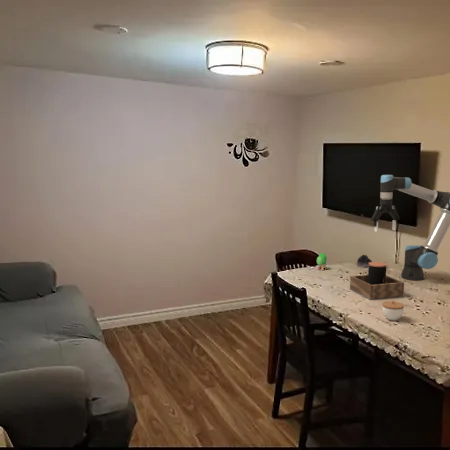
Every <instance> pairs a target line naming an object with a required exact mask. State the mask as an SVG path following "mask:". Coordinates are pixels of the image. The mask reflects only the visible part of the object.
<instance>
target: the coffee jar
mask: <svg viewBox="0 0 450 450" xmlns="http://www.w3.org/2000/svg"><path fill="white" fill-rule="evenodd" d="M367 268H368V269H367V275H368V283H369V284H371V285H376V284H386V276H387V263H385V262H382V261H381V262H380V261H372V262H370V263H369V267H367Z"/></svg>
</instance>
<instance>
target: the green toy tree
mask: <svg viewBox="0 0 450 450" xmlns="http://www.w3.org/2000/svg"><path fill="white" fill-rule="evenodd" d="M327 259H328V258H327V255H326V253H323V252H321V253H319V255H318V256H317V258H316V264H317V265H316V267H317V270H318V269H319V270H318V271H321V270H324V268H325V269H327V268H326V267H327V263H326V262H327ZM318 267H319V268H318ZM320 269H321V270H320Z"/></svg>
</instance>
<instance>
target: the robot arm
mask: <svg viewBox="0 0 450 450" xmlns="http://www.w3.org/2000/svg"><path fill="white" fill-rule="evenodd" d="M394 190H397V191H399V192H402V193H405V194H408V195H410V196H412V197H417V198H419V199H422V200H424V201H427V202H428V203H429V204H431V205H434V206H437V207H438V208H439V210H440V213H439V215H438V217H437V219H436V221H435V223H434V225H433V227H432V229H431V231H430V233H429V234H428V237H427V239H426V240H425V242H424V244H421V245H418V244H417V245H416V244H415V245H413V244H412V245H406V246H405V249H404V263H403V264H404V266H403V268H402V271H401V273H400V277H401V279H404V280H409V281H423V280H425V273H424V270H430V269H433V268H435V267H436V266H437V264H438V262H439V258H438V254H439V250H438V249H439V247H440V245H441V243H442V241H443V239H444V237H445V235H446V233H447V231H448V229H449V228H450V192H449V191H440V190H437V189H429V188H426V187H423V186H420V185H417V184H415V183H413V182H412V179H411V178H410V177H406V176H405V177H400V176H399V177H397V176H394V175H393V174H382V175H381V176H380V192H379V193H380V194H379V195H380V196H379V198H380V199H379V205H380V206H375V210H374V213H373V214H372V216H371V219H370V220H371V221H372V222H373V227H374V232H377V233H378V232H379V220H380V218H381V217H382V215H383V214H389V216H391V218H392V219H393V220H392V223H391V224H392V225H391V229H392V231H396V230H397V223H398V221H399V220H400V219H401V218H400V216H399V213H398V211H397V206H396V205H393V191H394ZM423 269H424V270H423Z"/></svg>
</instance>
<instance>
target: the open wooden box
mask: <svg viewBox="0 0 450 450" xmlns="http://www.w3.org/2000/svg"><path fill="white" fill-rule="evenodd" d="M349 290H350V291H352V292H354V293H355V294H358V295H360V296H361V297H364V298H365V299H367V300H369V301H375V300H382V299H383V300H385V299H394V298H403V297H404V293H405V282H403V281H401V280H398V279H397V278H396V279H395V278H393V277H391V276H388V275H386V284H376V285H371V284H369V283H368V274H361V275H359V274H358V275H351V276H350V281H349Z"/></svg>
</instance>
